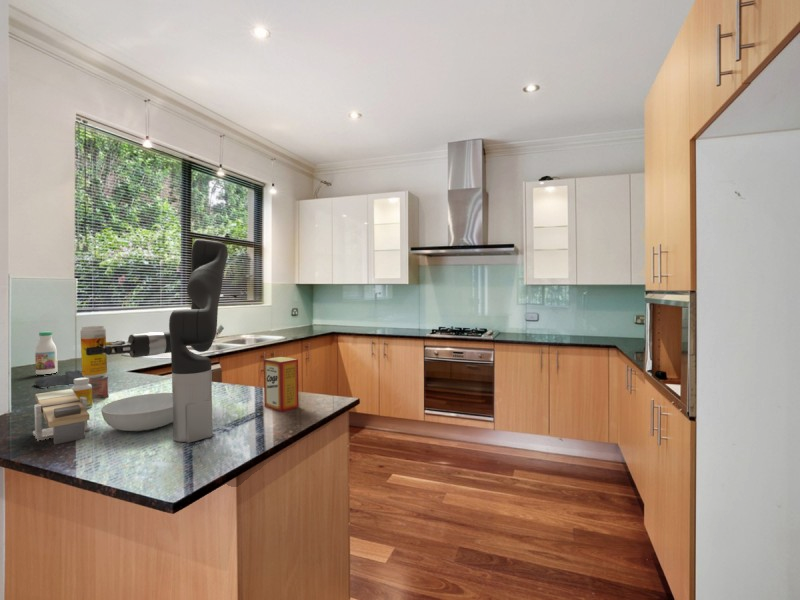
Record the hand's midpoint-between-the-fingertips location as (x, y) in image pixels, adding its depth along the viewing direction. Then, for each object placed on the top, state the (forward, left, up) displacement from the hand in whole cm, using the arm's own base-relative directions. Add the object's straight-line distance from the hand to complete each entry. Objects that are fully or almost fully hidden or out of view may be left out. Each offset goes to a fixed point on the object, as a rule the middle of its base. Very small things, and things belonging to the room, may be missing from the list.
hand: (84, 350), depth 121 cm
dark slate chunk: (+70, -8, -21) cm, 73 cm away
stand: (-12, +7, -21) cm, 25 cm away
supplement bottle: (+16, -2, -21) cm, 26 cm away
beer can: (0, -3, -8) cm, 9 cm away
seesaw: (-9, +7, -14) cm, 18 cm away
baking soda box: (-34, -45, -21) cm, 60 cm away
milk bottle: (+99, -4, -21) cm, 101 cm away
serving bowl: (-21, -10, -21) cm, 31 cm away
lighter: (+29, -9, -21) cm, 37 cm away
